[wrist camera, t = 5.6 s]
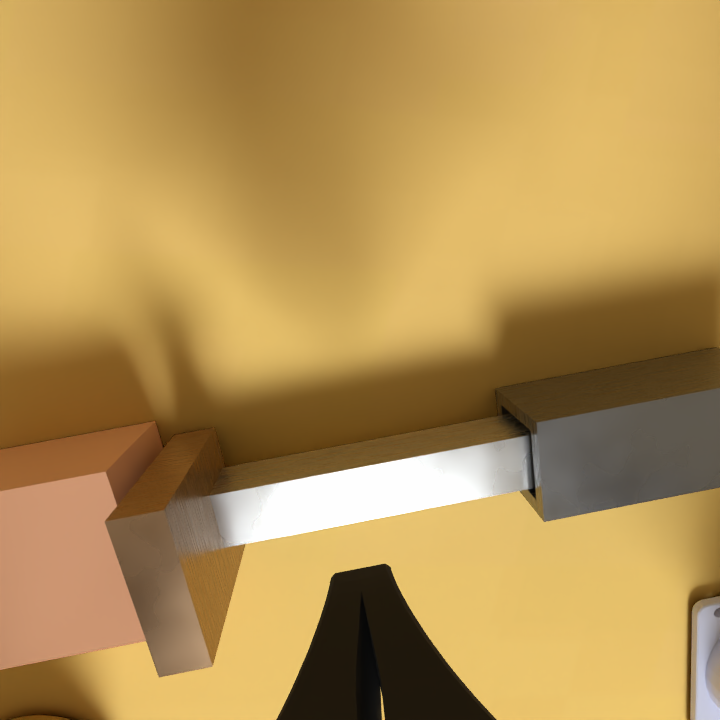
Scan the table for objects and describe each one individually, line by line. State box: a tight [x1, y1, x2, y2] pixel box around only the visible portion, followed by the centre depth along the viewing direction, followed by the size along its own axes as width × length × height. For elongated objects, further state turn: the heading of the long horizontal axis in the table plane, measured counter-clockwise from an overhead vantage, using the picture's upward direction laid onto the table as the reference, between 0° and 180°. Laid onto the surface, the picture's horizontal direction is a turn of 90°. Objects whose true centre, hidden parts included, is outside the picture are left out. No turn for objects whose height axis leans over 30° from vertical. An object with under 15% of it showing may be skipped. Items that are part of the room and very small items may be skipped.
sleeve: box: [495, 348, 720, 522], centre depth 17 cm, size 9×4×4 cm, turn 100°
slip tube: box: [105, 414, 535, 677], centre depth 15 cm, size 19×5×6 cm, turn 100°
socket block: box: [0, 421, 163, 670], centre depth 16 cm, size 6×6×4 cm
